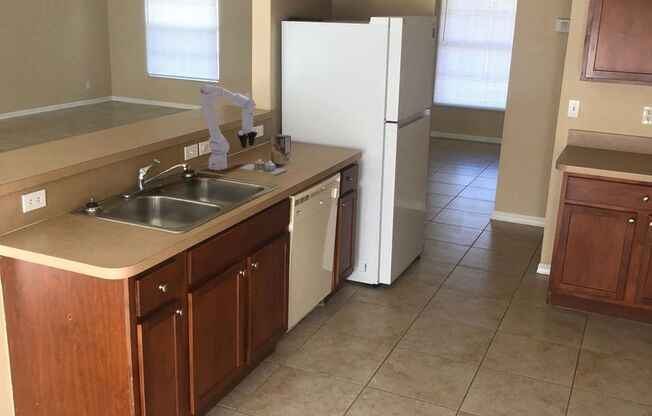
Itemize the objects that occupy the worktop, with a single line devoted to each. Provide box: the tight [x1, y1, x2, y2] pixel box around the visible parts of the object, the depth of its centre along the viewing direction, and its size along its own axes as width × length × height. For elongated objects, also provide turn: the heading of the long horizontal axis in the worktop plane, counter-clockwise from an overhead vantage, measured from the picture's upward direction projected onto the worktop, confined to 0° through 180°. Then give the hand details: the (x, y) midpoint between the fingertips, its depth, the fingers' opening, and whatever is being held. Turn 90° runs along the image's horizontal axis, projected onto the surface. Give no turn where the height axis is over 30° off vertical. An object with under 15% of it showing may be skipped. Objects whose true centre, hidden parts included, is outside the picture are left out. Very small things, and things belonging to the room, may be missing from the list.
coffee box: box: [270, 133, 292, 166], centre depth 363 cm, size 9×6×16 cm
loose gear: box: [254, 161, 266, 169], centre depth 350 cm, size 6×6×3 cm
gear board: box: [239, 159, 288, 177], centre depth 349 cm, size 12×22×6 cm, turn 66°
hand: (247, 146), depth 360 cm, fingers open, 7 cm apart
